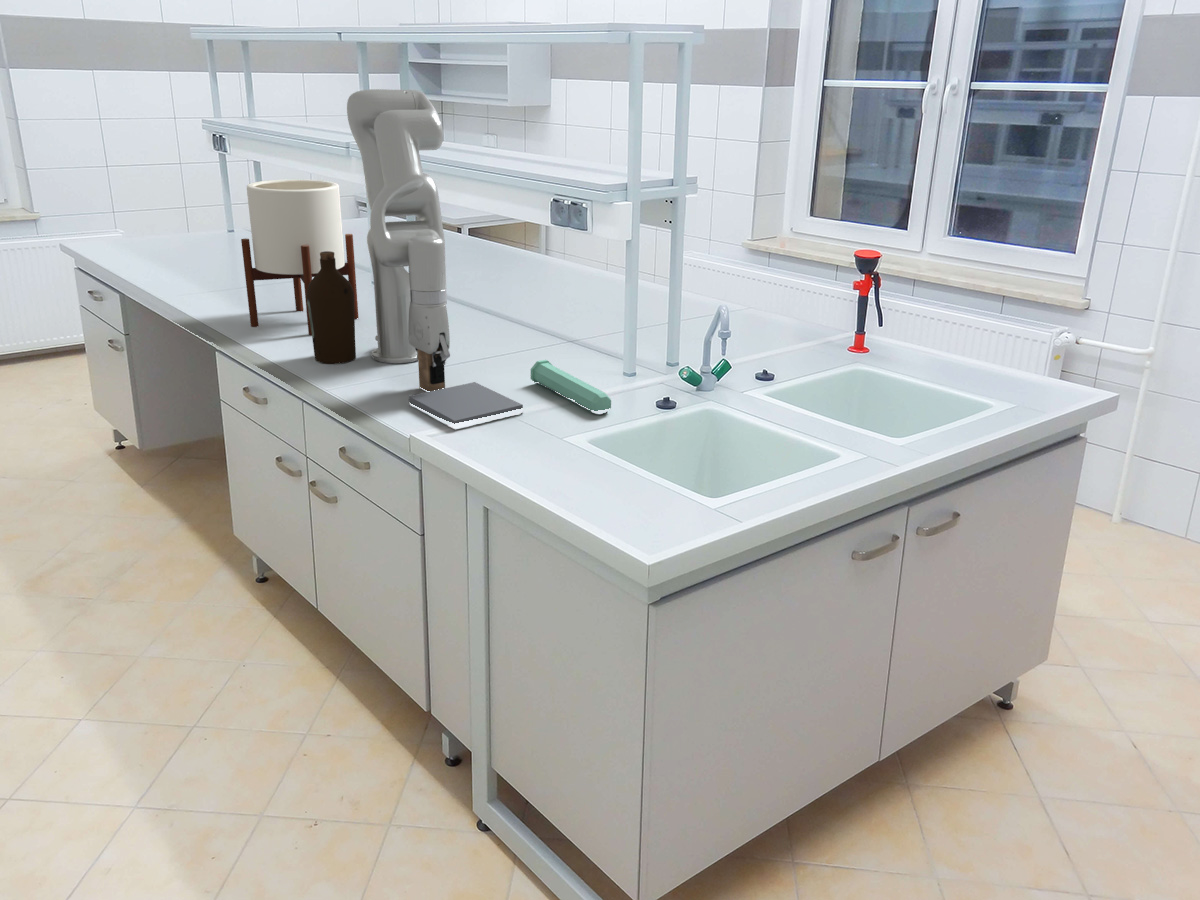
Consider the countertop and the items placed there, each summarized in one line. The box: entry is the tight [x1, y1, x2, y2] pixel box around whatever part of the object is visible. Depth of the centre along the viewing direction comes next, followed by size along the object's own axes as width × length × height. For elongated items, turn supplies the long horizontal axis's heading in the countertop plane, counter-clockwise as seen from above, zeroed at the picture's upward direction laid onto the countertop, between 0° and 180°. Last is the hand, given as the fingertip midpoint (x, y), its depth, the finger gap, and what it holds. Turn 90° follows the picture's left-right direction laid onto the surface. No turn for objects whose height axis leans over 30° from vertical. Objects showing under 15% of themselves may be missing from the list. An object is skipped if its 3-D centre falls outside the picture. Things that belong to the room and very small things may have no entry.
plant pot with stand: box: [240, 178, 359, 337], centre depth 253 cm, size 22×22×36 cm
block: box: [417, 348, 446, 391], centre depth 209 cm, size 4×4×10 cm
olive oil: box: [307, 251, 357, 365], centre depth 226 cm, size 11×11×25 cm
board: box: [408, 381, 524, 424], centre depth 200 cm, size 18×16×2 cm
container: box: [530, 359, 612, 411], centre depth 207 cm, size 6×6×25 cm
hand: (431, 379), depth 210 cm, fingers closed on block, 4 cm apart
